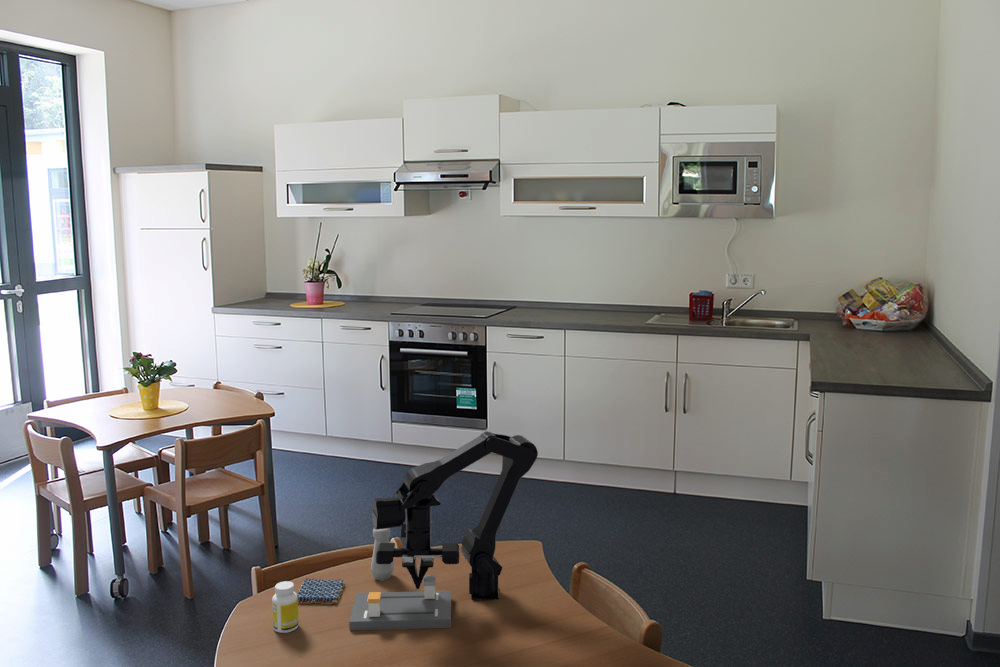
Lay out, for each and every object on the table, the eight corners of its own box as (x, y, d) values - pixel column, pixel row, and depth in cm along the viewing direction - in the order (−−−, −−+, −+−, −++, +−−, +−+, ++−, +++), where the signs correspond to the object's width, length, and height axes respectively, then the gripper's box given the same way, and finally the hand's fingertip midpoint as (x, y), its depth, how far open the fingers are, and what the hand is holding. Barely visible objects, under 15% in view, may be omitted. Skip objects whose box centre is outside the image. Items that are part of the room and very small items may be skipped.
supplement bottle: (303, 623, 178) (302, 581, 176) (289, 635, 173) (288, 592, 171) (282, 619, 180) (280, 577, 178) (268, 631, 174) (266, 588, 173)
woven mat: (346, 585, 197) (346, 577, 196) (337, 607, 186) (337, 598, 186) (304, 584, 197) (304, 576, 196) (292, 606, 186) (292, 597, 186)
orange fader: (381, 609, 180) (381, 591, 179) (380, 616, 176) (379, 598, 176) (369, 609, 179) (369, 592, 179) (368, 617, 176) (367, 599, 176)
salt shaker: (396, 572, 202) (395, 523, 200) (391, 582, 197) (390, 532, 195) (373, 571, 203) (372, 522, 201) (368, 581, 197) (366, 531, 195)
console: (451, 598, 189) (451, 590, 189) (450, 627, 176) (450, 619, 176) (356, 600, 188) (356, 592, 187) (349, 630, 175) (349, 621, 175)
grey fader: (435, 592, 188) (435, 575, 187) (435, 598, 184) (435, 581, 184) (424, 592, 187) (424, 575, 187) (423, 599, 184) (423, 582, 184)
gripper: (459, 510, 191) (458, 572, 194) (380, 510, 190) (380, 572, 193) (459, 529, 180) (458, 594, 183) (376, 529, 179) (375, 594, 182)
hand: (417, 588), depth 185 cm, fingers closed
